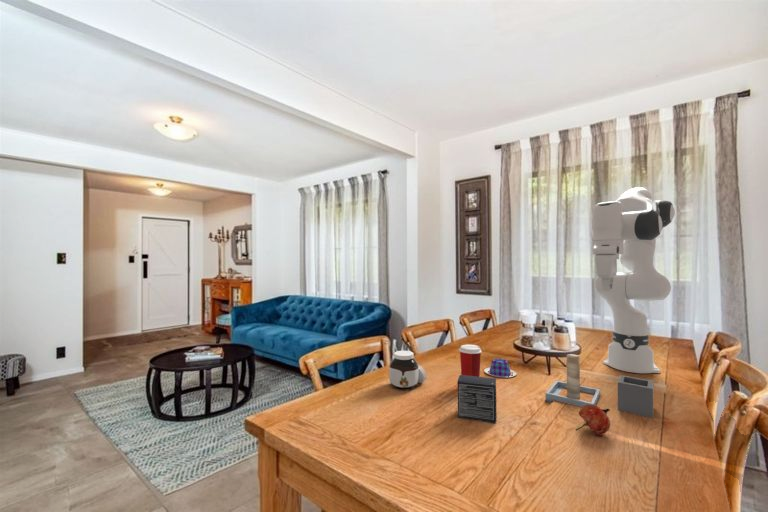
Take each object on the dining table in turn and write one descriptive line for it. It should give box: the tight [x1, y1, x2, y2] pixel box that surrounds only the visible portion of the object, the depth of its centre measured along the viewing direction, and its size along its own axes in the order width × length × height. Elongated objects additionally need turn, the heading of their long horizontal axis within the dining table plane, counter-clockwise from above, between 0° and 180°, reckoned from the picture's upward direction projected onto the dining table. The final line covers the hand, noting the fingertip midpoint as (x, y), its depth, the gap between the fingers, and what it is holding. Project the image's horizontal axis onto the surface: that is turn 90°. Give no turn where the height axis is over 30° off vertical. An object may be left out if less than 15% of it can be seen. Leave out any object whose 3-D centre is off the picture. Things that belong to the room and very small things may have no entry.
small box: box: [456, 374, 498, 424], centre depth 97 cm, size 11×6×10 cm, turn 71°
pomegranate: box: [575, 404, 611, 436], centre depth 88 cm, size 7×7×10 cm
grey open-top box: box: [617, 374, 655, 419], centre depth 99 cm, size 8×8×9 cm
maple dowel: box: [566, 353, 581, 399], centre depth 109 cm, size 4×4×13 cm
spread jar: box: [388, 350, 427, 391], centre depth 121 cm, size 12×11×12 cm
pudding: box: [483, 358, 517, 378], centre depth 133 cm, size 12×12×5 cm
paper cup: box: [458, 344, 482, 377], centre depth 119 cm, size 8×8×14 cm
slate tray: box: [545, 380, 601, 408], centre depth 108 cm, size 14×13×2 cm
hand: (607, 290), depth 114 cm, fingers open, 8 cm apart
